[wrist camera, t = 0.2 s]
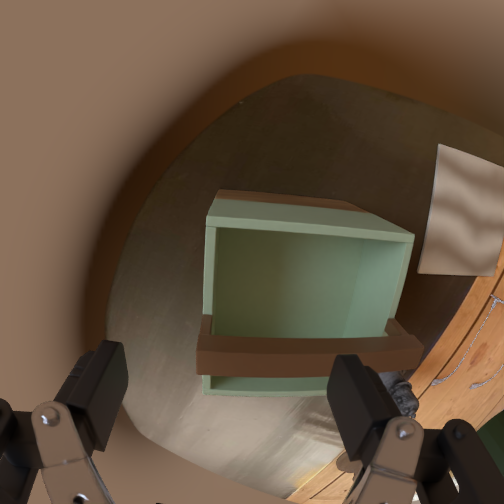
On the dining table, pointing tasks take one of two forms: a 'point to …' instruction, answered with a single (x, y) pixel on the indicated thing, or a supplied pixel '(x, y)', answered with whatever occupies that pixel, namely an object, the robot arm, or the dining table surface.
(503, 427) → the flower pot
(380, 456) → the robot arm
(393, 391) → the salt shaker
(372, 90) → the dining table surface
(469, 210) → the placemat
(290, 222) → the top basket
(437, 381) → the eyeglasses
